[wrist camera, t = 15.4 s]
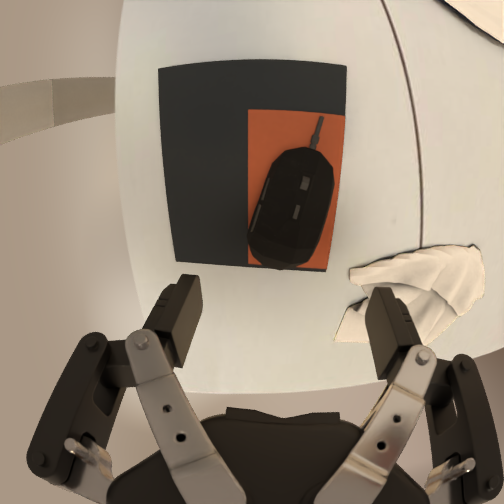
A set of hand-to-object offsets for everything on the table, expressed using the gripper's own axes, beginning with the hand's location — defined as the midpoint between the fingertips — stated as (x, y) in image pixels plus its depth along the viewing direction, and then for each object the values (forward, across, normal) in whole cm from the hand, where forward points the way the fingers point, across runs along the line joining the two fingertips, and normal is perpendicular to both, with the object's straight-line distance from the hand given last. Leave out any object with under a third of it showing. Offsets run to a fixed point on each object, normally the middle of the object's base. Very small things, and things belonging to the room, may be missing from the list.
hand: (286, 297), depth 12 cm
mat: (+14, +3, -2) cm, 15 cm away
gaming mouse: (+14, -1, 0) cm, 14 cm away
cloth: (+14, -17, +12) cm, 25 cm away
